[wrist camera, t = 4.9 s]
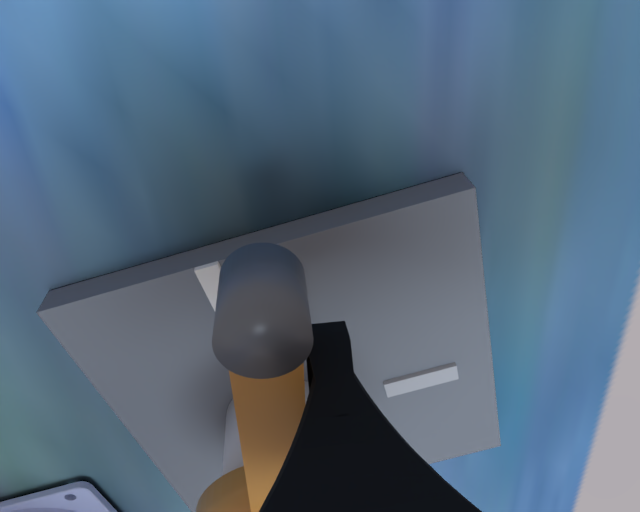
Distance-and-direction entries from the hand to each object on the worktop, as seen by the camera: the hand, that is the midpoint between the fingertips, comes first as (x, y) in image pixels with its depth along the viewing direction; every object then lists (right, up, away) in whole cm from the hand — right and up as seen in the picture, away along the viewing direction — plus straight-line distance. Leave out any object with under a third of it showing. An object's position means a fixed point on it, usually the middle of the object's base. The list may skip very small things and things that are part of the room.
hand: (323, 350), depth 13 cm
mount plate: (-1, -2, +8) cm, 8 cm away
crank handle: (-1, -3, +2) cm, 4 cm away
